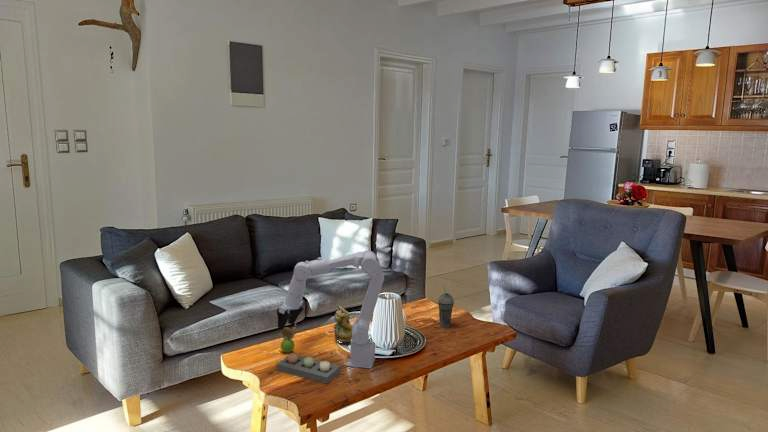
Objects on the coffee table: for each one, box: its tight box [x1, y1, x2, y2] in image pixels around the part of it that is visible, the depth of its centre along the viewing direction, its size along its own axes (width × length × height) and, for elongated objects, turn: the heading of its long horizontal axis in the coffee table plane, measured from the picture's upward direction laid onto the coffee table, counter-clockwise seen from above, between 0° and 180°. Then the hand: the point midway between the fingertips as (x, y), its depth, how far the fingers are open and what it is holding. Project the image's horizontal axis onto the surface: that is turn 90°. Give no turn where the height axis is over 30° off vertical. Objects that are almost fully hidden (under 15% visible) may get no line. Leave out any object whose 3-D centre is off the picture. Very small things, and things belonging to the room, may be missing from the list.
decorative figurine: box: [333, 305, 353, 342], centre depth 228 cm, size 10×8×15 cm
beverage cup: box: [437, 283, 455, 329], centre depth 245 cm, size 7×7×20 cm
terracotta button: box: [287, 352, 298, 365], centre depth 203 cm, size 4×4×3 cm
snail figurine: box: [280, 323, 297, 353], centre depth 216 cm, size 5×6×12 cm
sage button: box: [304, 356, 314, 369], centre depth 201 cm, size 4×4×3 cm
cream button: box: [320, 360, 330, 373], centre depth 198 cm, size 4×4×3 cm
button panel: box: [276, 354, 342, 385], centre depth 201 cm, size 22×10×2 cm, turn 65°
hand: (285, 326), depth 204 cm, fingers open, 7 cm apart
